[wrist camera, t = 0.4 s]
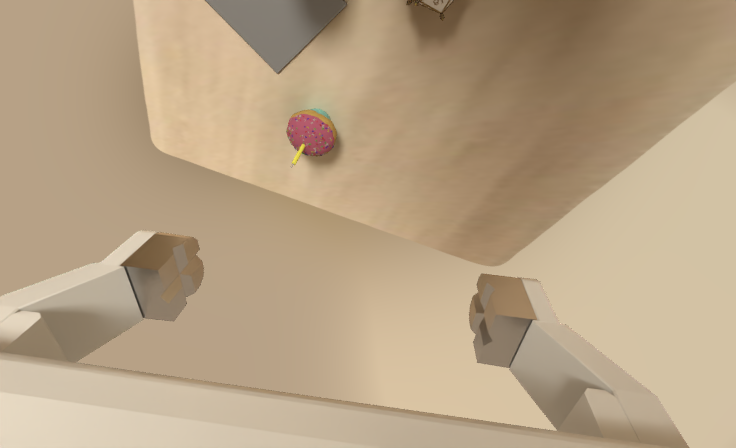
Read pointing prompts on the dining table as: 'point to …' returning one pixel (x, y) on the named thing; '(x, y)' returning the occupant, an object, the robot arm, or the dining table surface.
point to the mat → (277, 24)
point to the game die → (433, 5)
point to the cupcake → (311, 133)
